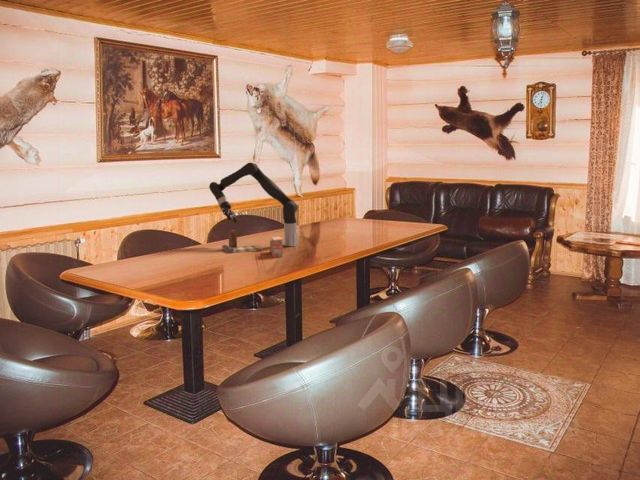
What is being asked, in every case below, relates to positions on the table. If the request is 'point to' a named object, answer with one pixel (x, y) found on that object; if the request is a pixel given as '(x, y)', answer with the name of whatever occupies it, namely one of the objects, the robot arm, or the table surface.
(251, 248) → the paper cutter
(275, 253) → the stack of blocks
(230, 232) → the brown pillar with knob
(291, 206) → the robot arm
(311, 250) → the table surface
